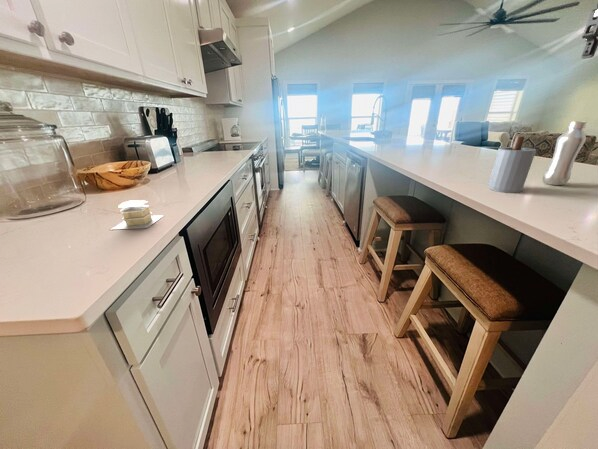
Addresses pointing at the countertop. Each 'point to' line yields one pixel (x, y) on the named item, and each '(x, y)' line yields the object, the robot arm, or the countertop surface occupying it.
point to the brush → (518, 142)
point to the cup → (511, 169)
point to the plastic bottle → (565, 154)
